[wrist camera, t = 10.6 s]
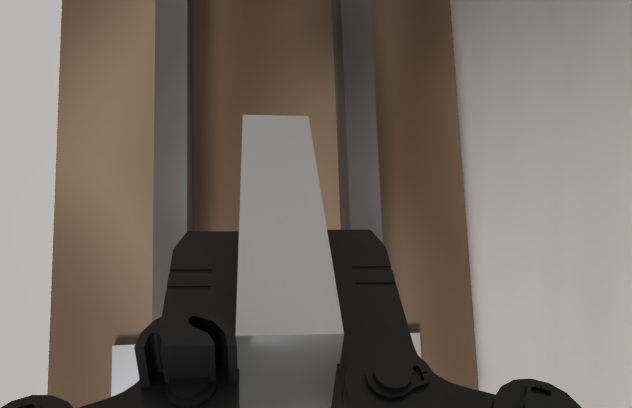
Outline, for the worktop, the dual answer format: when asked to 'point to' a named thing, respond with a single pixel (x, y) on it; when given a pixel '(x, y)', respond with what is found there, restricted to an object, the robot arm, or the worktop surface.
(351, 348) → the robot arm
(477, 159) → the worktop surface
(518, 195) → the worktop surface
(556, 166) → the worktop surface
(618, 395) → the worktop surface
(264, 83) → the switch panel
